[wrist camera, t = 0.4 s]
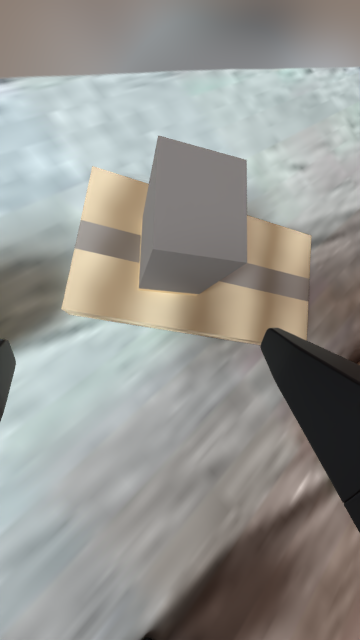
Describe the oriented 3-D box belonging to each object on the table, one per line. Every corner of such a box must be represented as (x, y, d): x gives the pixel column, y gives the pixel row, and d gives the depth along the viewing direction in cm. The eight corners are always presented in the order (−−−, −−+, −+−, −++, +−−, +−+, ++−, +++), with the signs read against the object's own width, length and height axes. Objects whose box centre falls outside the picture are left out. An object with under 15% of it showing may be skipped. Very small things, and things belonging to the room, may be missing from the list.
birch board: (290, 247, 27) (311, 235, 24) (284, 348, 25) (306, 349, 22) (95, 190, 21) (92, 166, 18) (69, 314, 19) (61, 309, 17)
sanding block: (196, 295, 20) (247, 262, 12) (137, 290, 18) (152, 249, 11) (197, 230, 20) (246, 160, 13) (141, 220, 19) (158, 135, 11)
